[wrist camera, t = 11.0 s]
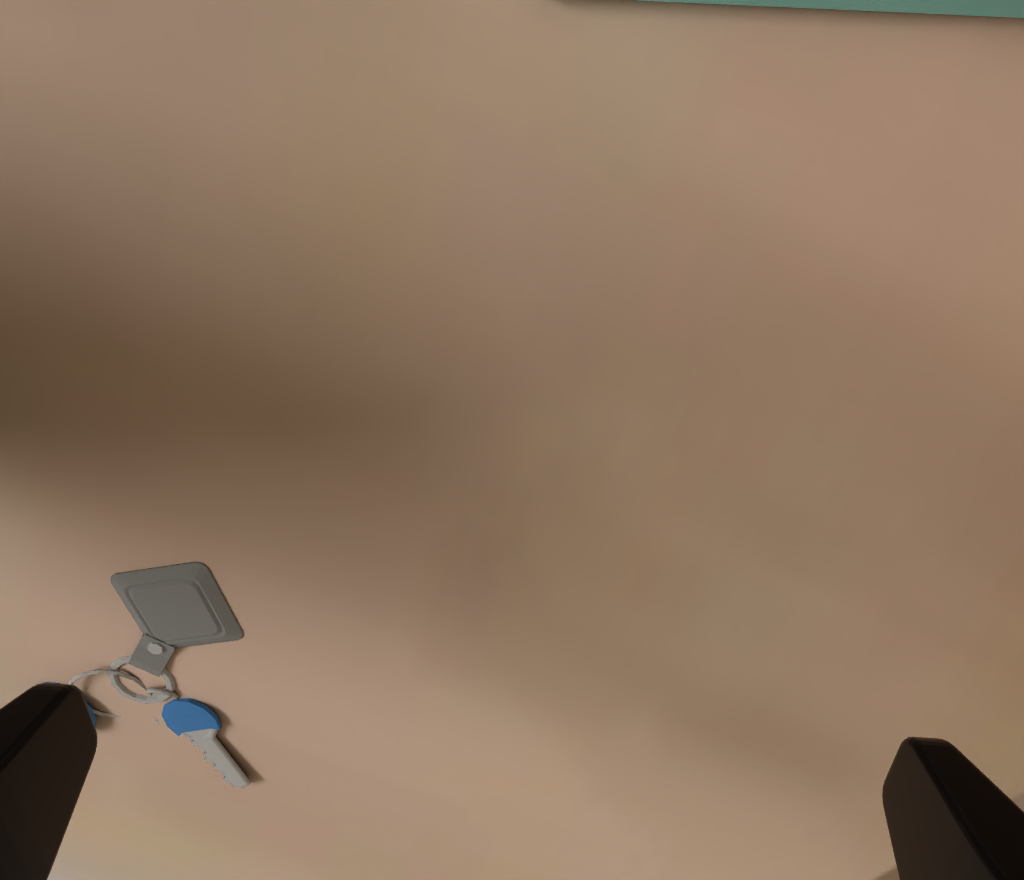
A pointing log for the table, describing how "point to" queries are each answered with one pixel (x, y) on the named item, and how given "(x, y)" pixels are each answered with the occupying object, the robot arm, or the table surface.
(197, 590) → the key chain
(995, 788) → the robot arm
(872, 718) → the table surface
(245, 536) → the table surface
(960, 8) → the rubber mat
